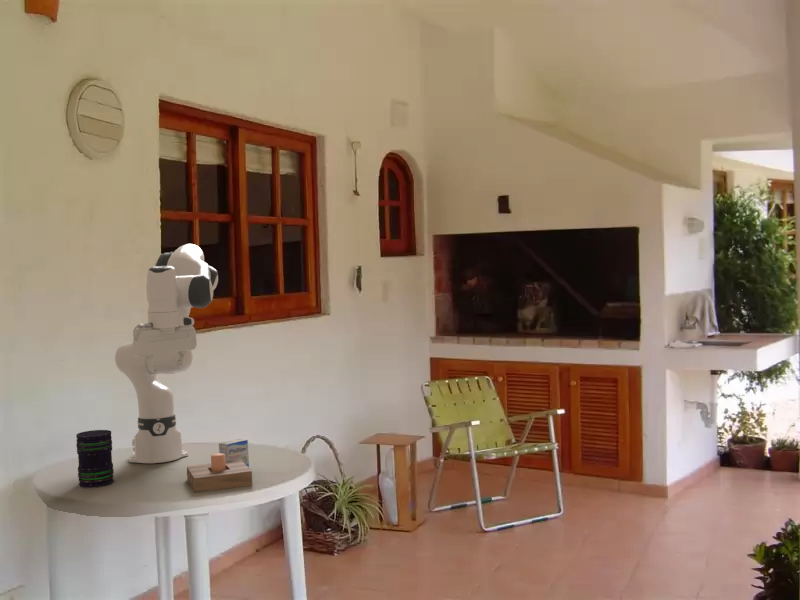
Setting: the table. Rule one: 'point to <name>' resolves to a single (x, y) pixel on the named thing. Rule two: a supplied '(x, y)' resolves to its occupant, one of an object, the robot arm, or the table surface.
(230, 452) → the medicine box
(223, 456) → the peg
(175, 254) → the robot arm
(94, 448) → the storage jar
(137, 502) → the table surface
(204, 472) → the socket block
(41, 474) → the table surface
